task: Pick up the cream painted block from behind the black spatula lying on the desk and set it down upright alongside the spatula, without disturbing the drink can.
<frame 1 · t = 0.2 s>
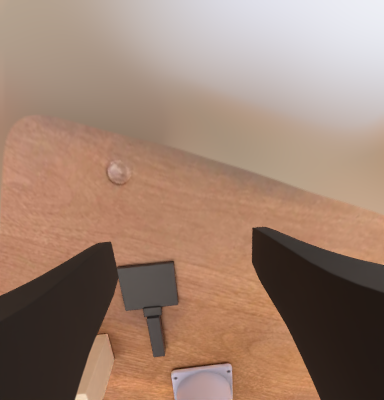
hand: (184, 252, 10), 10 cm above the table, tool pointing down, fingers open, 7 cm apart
cream block: (93, 348, 25), on the table
spatula: (153, 309, 24), on the table
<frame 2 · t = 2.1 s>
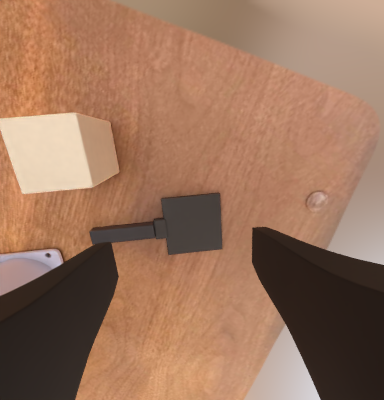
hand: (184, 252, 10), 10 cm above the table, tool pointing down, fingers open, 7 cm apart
cream block: (90, 149, 18), on the table
spatula: (159, 227, 20), on the table
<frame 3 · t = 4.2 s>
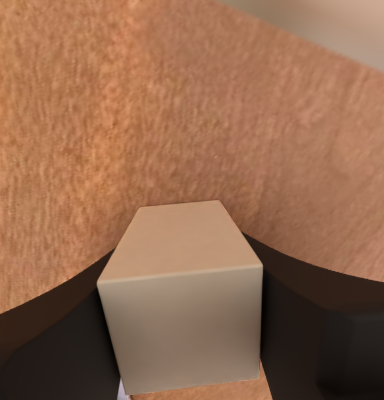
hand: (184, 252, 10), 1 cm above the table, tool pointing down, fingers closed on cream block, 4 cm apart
cream block: (183, 239, 12), on the table, touching gripper
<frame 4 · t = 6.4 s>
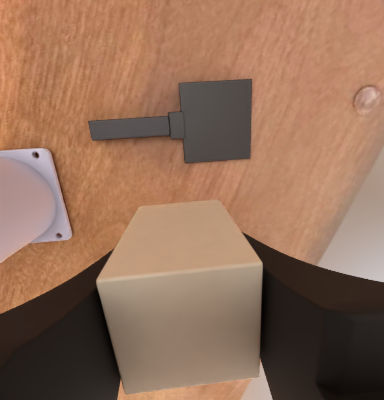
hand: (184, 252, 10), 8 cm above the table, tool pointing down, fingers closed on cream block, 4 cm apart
cream block: (182, 238, 12), point 7 cm above the table, touching gripper
spatula: (174, 126, 16), on the table
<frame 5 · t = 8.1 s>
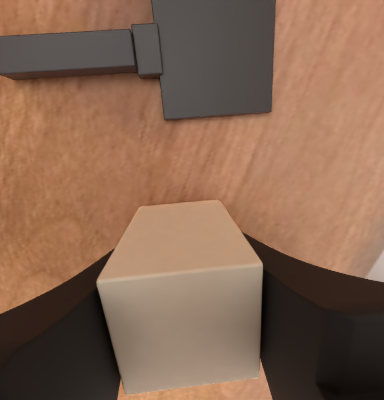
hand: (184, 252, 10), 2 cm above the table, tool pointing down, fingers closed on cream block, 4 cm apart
cream block: (183, 238, 12), point 1 cm above the table, touching gripper
spatula: (145, 55, 10), on the table
when the fingers open (1 cm above the table, at t = 8.9 s): cream block stays where it is, on the table.
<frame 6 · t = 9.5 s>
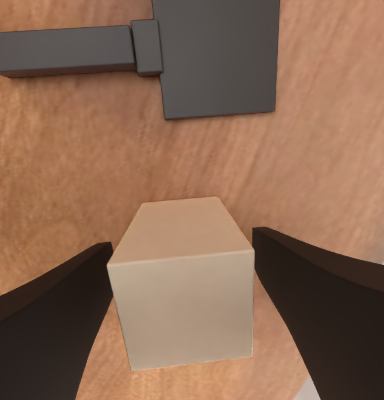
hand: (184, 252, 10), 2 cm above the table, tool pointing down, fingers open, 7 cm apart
cream block: (183, 233, 12), on the table
spatula: (144, 52, 9), on the table
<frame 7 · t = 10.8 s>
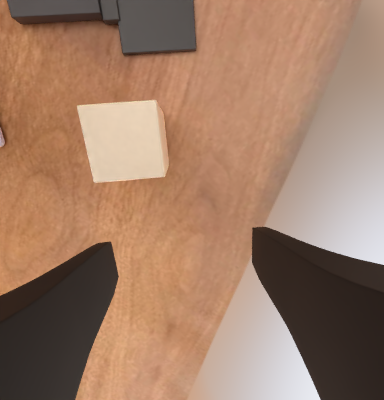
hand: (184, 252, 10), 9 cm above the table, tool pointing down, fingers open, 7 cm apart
cream block: (141, 141, 17), on the table
spatula: (108, 8, 15), on the table
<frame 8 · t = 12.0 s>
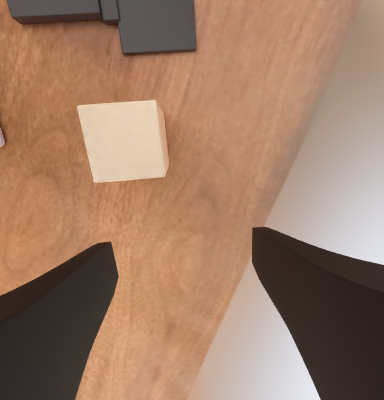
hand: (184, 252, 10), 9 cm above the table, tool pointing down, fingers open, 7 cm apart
cream block: (141, 141, 17), on the table
spatula: (108, 8, 15), on the table
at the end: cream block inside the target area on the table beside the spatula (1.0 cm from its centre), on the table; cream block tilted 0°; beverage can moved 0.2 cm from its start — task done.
